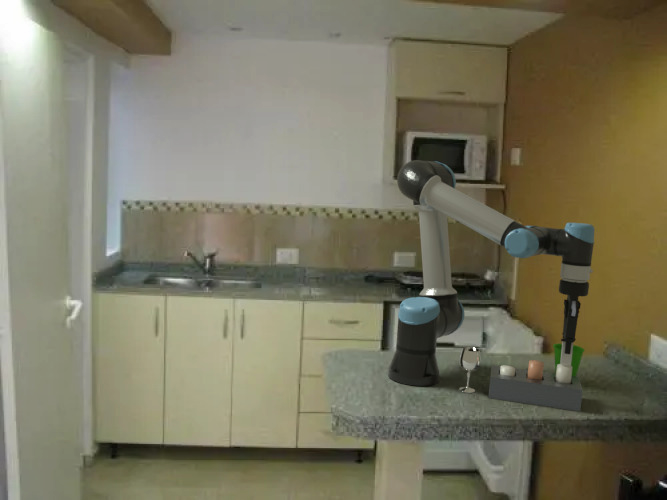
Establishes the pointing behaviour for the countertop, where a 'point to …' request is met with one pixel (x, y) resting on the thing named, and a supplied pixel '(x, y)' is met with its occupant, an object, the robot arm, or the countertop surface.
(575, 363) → the cup
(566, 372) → the white plug
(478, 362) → the wineglass
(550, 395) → the grey socket block
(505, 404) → the countertop surface
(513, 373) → the white plug
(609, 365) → the countertop surface
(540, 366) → the plug terracotta
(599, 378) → the countertop surface
